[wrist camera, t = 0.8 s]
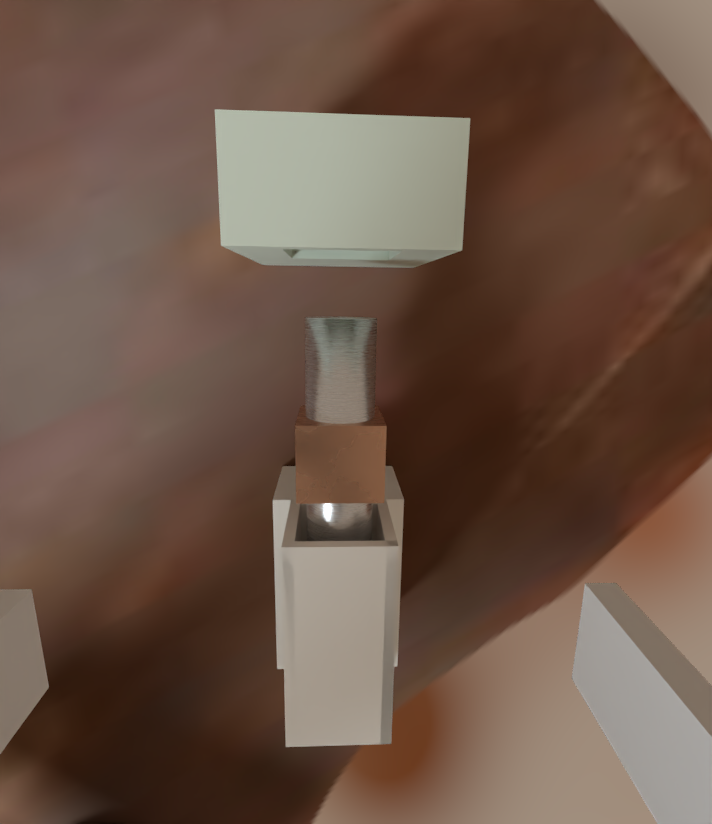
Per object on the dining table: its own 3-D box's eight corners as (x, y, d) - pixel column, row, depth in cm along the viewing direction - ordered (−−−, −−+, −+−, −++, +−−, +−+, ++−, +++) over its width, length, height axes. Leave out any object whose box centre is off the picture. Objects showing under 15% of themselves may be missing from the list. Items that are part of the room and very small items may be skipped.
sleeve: (387, 609, 39) (410, 743, 27) (285, 611, 38) (265, 747, 27) (392, 465, 36) (420, 546, 24) (282, 466, 36) (258, 547, 24)
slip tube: (372, 621, 31) (379, 673, 27) (303, 622, 31) (298, 675, 27) (380, 316, 27) (389, 320, 22) (299, 315, 26) (293, 319, 22)
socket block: (413, 267, 33) (462, 250, 21) (263, 265, 32) (221, 245, 20) (416, 187, 32) (470, 118, 19) (261, 183, 31) (214, 109, 19)
